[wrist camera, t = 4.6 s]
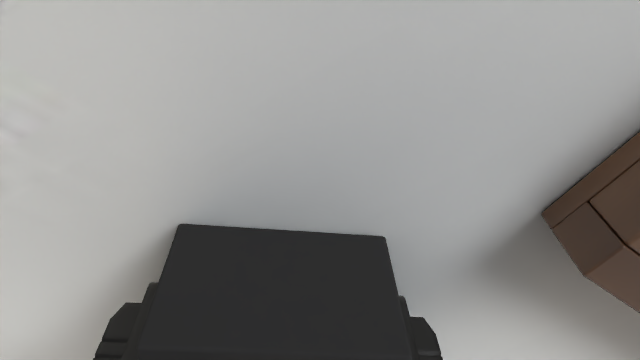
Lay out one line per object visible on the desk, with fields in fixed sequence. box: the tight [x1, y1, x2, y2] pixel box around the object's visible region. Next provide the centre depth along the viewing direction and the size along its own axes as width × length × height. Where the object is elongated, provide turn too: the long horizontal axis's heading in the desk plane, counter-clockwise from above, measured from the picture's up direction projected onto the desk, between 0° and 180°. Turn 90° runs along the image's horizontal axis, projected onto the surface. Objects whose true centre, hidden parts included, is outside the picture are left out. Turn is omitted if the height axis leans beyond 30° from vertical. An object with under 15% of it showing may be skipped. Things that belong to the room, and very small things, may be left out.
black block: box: [136, 224, 412, 360], centre depth 11 cm, size 5×5×4 cm
